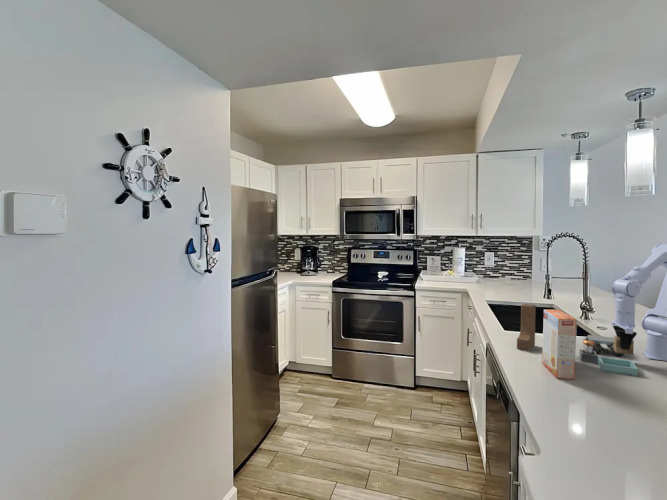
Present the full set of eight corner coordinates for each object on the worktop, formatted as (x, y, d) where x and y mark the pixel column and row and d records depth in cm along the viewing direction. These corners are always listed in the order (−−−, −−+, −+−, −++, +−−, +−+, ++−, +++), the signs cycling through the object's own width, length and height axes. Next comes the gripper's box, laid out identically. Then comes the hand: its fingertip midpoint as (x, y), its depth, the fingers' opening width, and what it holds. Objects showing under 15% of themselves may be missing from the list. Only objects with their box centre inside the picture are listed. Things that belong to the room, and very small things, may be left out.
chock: (630, 350, 131) (630, 337, 131) (633, 354, 128) (633, 341, 128) (613, 349, 134) (613, 336, 133) (616, 352, 130) (616, 339, 130)
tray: (631, 367, 126) (631, 360, 126) (637, 376, 119) (638, 369, 119) (597, 362, 131) (597, 356, 131) (601, 370, 124) (601, 364, 124)
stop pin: (593, 359, 134) (593, 340, 134) (594, 362, 131) (595, 343, 131) (581, 357, 136) (582, 339, 136) (583, 360, 133) (583, 342, 133)
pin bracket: (595, 358, 135) (595, 351, 135) (597, 363, 130) (597, 355, 130) (579, 356, 137) (579, 349, 137) (581, 361, 133) (581, 353, 133)
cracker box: (576, 380, 117) (577, 319, 116) (555, 378, 119) (557, 318, 117) (559, 363, 131) (560, 309, 129) (541, 362, 132) (542, 308, 131)
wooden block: (528, 351, 144) (528, 308, 143) (516, 348, 147) (517, 306, 146) (535, 345, 150) (535, 304, 149) (523, 343, 153) (524, 303, 152)
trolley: (618, 348, 144) (618, 336, 144) (624, 357, 135) (625, 344, 135) (584, 344, 150) (585, 333, 150) (588, 352, 141) (589, 340, 140)
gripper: (607, 306, 138) (606, 339, 139) (615, 315, 125) (614, 352, 126) (630, 308, 135) (629, 342, 136) (641, 317, 122) (639, 355, 123)
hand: (623, 347), depth 131 cm, fingers closed on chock, 4 cm apart
